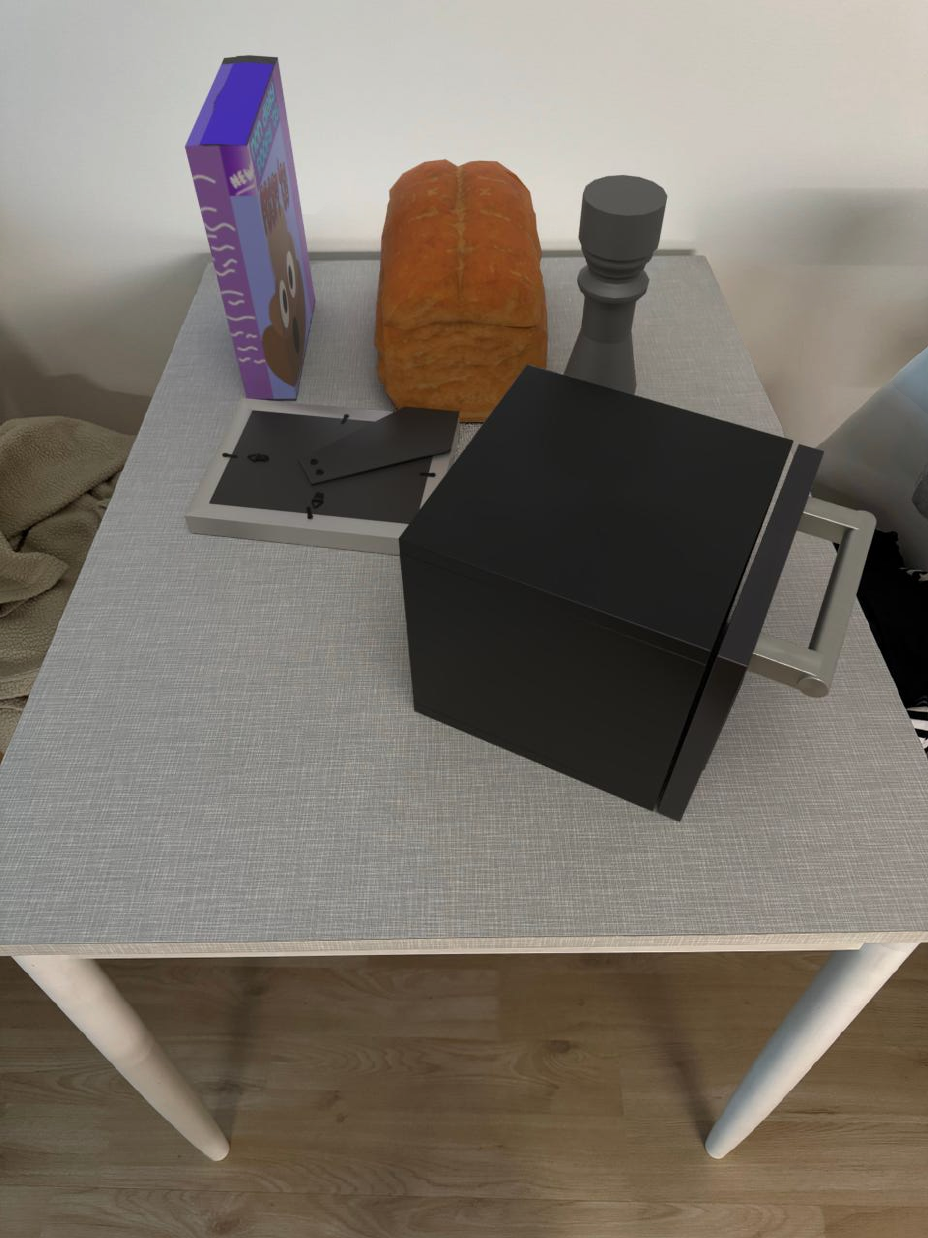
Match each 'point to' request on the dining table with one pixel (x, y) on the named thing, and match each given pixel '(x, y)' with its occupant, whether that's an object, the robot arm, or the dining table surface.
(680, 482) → the oven
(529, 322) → the bread
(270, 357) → the cereal box
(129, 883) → the dining table surface
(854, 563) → the oven door
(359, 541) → the picture frame
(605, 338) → the candle holder
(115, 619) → the dining table surface
